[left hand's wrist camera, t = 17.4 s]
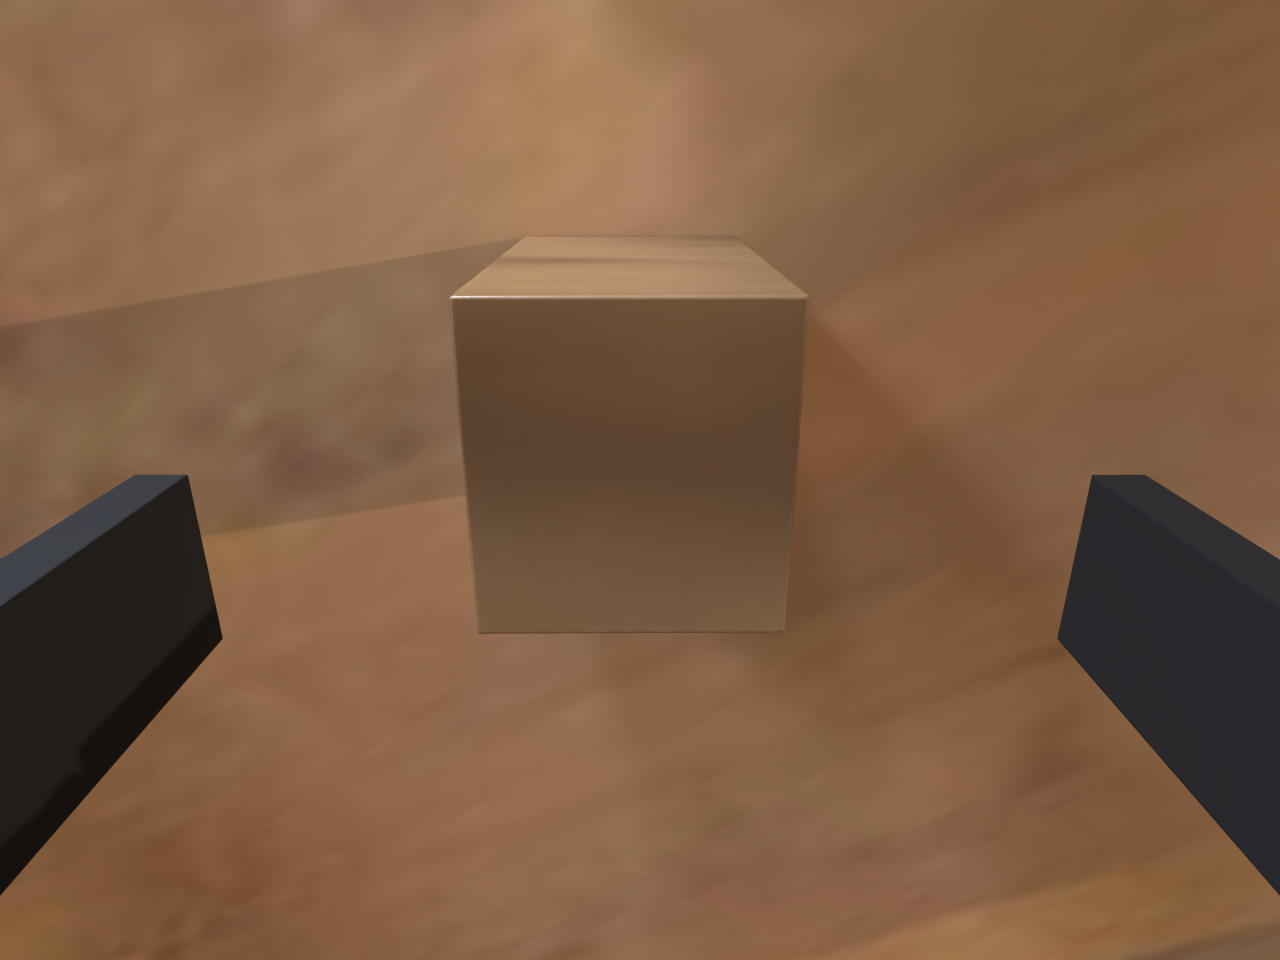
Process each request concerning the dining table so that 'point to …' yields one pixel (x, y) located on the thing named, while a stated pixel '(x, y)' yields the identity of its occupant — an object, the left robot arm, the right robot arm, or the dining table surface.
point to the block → (629, 435)
